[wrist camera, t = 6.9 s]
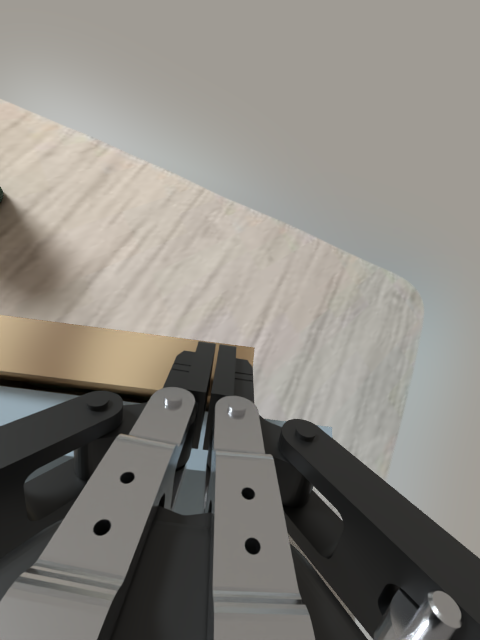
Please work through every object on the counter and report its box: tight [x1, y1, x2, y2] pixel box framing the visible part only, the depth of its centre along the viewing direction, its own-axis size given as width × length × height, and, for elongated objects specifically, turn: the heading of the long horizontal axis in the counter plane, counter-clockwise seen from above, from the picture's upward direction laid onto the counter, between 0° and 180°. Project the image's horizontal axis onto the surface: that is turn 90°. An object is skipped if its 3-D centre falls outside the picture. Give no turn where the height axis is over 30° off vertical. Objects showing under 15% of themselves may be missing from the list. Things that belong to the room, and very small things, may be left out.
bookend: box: [0, 386, 332, 515], centre depth 21 cm, size 26×10×22 cm, turn 84°
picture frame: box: [0, 315, 254, 412], centre depth 20 cm, size 18×2×15 cm, turn 84°
